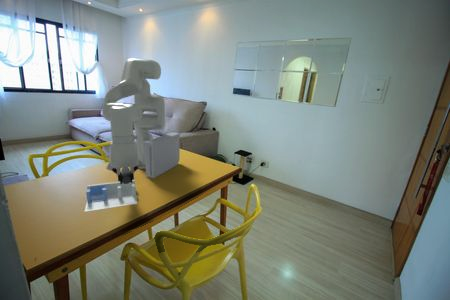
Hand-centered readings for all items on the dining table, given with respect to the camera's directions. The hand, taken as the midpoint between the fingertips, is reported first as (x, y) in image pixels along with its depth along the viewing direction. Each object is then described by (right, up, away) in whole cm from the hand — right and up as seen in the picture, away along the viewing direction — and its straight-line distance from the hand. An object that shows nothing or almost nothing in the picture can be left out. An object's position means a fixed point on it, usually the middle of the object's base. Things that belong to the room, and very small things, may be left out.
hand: (126, 181), depth 89 cm
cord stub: (-1, +1, +3) cm, 4 cm away
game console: (+4, +1, +40) cm, 40 cm away
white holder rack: (-9, -8, +6) cm, 13 cm away
